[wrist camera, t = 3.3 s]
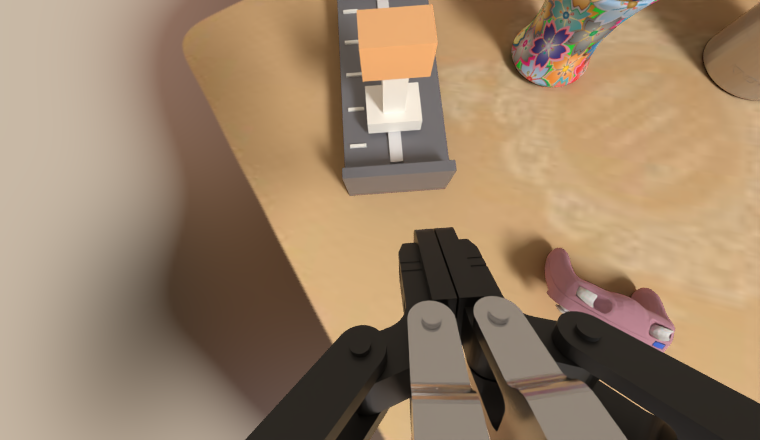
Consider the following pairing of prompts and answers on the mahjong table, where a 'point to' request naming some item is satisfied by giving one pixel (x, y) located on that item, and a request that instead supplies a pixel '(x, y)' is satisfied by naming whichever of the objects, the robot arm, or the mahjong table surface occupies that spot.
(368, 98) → the fader knob
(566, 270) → the pink toy animal figure
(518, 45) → the mug
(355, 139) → the fader console
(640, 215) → the mahjong table surface
